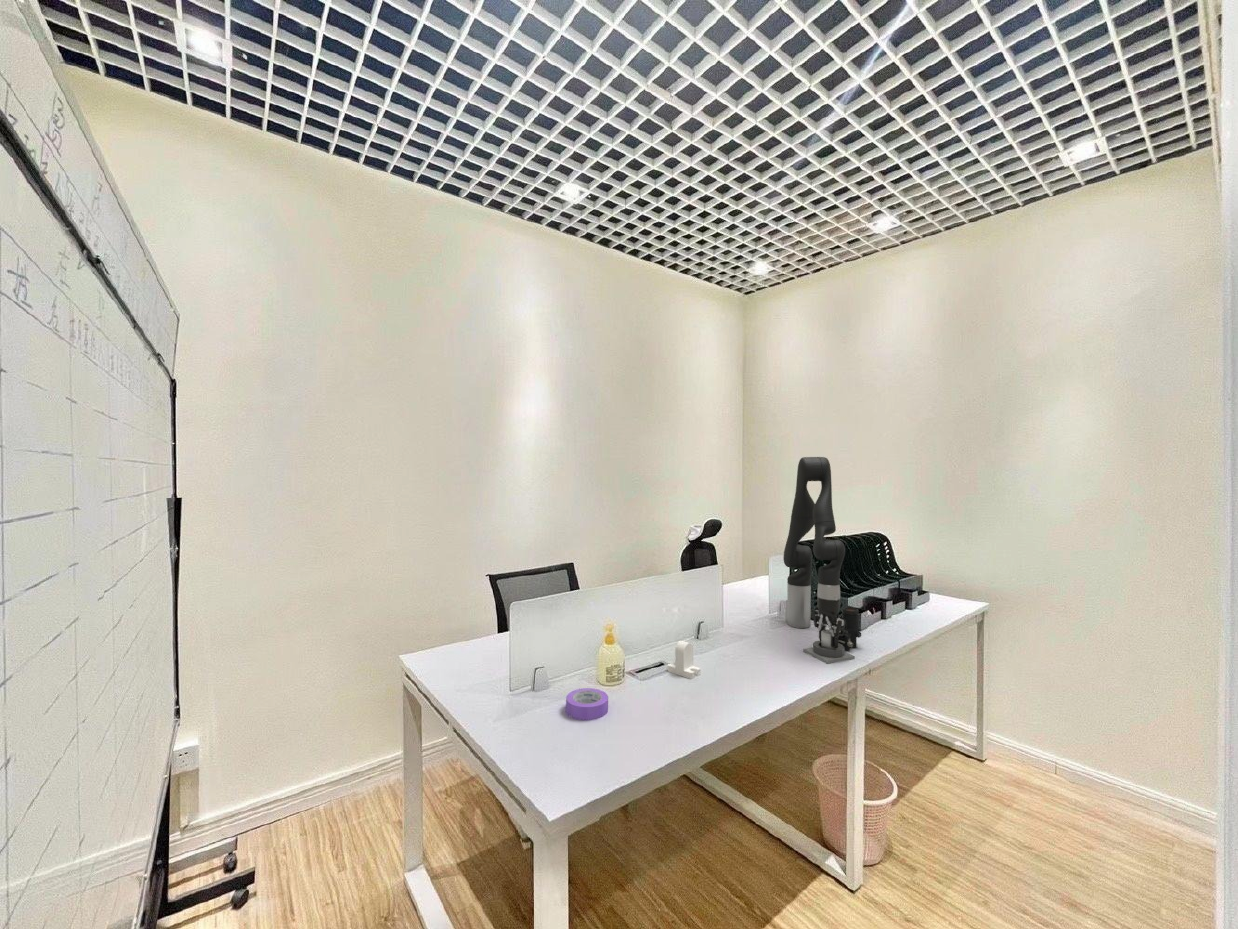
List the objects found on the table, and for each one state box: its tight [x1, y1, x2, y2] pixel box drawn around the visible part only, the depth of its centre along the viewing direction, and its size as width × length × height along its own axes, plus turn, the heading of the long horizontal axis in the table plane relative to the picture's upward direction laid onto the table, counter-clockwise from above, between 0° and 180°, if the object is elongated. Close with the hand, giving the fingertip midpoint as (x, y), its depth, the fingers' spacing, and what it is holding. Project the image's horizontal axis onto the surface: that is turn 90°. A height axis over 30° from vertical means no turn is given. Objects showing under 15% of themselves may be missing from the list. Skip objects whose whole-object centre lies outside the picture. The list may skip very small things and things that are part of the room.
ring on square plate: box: [802, 640, 856, 665], centre depth 185 cm, size 12×12×4 cm
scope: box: [832, 606, 862, 652], centre depth 193 cm, size 8×14×10 cm
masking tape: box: [565, 687, 609, 721], centre depth 145 cm, size 12×12×4 cm
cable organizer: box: [667, 640, 701, 680], centre depth 170 cm, size 5×10×10 cm, turn 47°
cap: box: [821, 628, 836, 649], centre depth 185 cm, size 5×5×6 cm
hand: (828, 643), depth 185 cm, fingers open, 5 cm apart
